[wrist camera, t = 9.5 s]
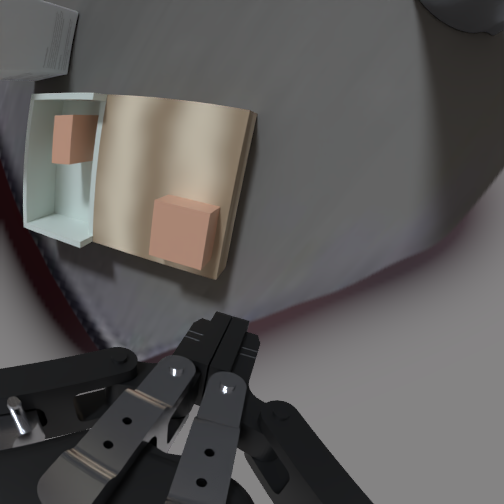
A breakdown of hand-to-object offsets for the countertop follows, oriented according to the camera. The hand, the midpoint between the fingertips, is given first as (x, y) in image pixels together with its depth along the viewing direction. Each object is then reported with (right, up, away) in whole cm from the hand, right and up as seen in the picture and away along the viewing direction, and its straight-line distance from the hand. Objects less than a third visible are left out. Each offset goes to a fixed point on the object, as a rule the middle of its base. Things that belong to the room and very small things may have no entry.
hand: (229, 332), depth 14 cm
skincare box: (-21, +27, +12) cm, 36 cm away
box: (-17, +13, +15) cm, 26 cm away
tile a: (-14, +14, +12) cm, 23 cm away
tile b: (-4, +6, +12) cm, 14 cm away
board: (-6, +10, +14) cm, 18 cm away
